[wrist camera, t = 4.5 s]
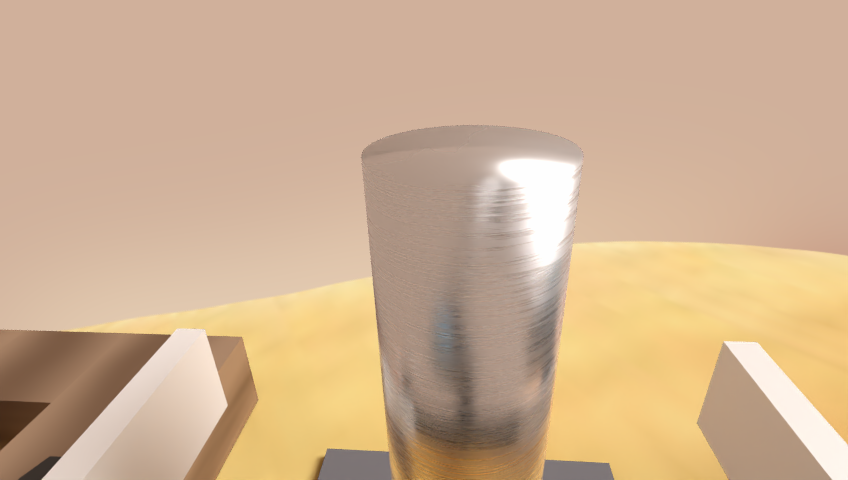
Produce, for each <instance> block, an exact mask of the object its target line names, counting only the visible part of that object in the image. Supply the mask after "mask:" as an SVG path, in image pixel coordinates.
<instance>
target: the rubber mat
mask: <svg viewBox="0 0 848 480" xmlns="http://www.w3.org/2000/svg"><path fill="white" fill-rule="evenodd" d="M318 480H392V479H391V468H390V457H389V452H382V451H363V450H344V449H327V452H326V455H325V458H324V461H323V464H322V467H321V471H320V474H319V477H318ZM543 480H614V478H613V475H612V472H611V468H610V465H609V463H595V462H576V461H557V460H545V464H544V472H543Z"/></svg>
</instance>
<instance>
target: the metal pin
mask: <svg viewBox="0 0 848 480" xmlns="http://www.w3.org/2000/svg"><path fill="white" fill-rule="evenodd" d="M583 157H584V156H583V151H582V150H581V148H580V147H579V146H578V145H576V144H575V143H573V142H572V141H569V140H567V139H565V138H562V137H559V136H557V135H553V134H550V133H545V132H541V131H536V130H530V129H523V128H516V127H505V126H487V125H462V126H443V127H434V128H424V129H418V130H412V131H407V132H402V133H398V134H394V135H391V136H388V137H385V138H382V139H380V140H377V141H376V142H373V143H372V144H370V145H369V146H367V147H366V148H365V149H364V150H363V152H362V157H361V158H362V169H363V180H364V191H365V201H366V211H367V223H368V233H369V243H370V254H371V265H372V276H373V287H374V297H375V308H376V319H377V329H378V340H379V351H380V361H381V372H382V383H383V393H384V404H385V415H386V425H387V436H388V447H389V457H390V468H391V479H392V480H543V472H544V464H545V456H546V448H547V440H548V432H549V424H550V417H551V409H552V401H553V393H554V385H555V377H556V369H557V362H558V354H559V346H560V338H561V330H562V322H563V314H564V306H565V299H566V291H567V283H568V275H569V267H570V259H571V251H572V243H573V236H574V228H575V219H576V212H577V204H578V196H579V188H580V180H581V173H582V164H583Z"/></svg>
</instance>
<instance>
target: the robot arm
mask: <svg viewBox="0 0 848 480" xmlns="http://www.w3.org/2000/svg"><path fill="white" fill-rule="evenodd" d="M227 406H228V404H227V401H226V398H225V395H224V391H223V388H222V385H221V381H220V378H219V375H218V371H217V368H216V365H215V361H214V358H213V355H212V352H211V348H210V345H209V342H208V338H207V335H206V332H205V329H177V330H176V331H175V332H174V333H173V334H172V335H171V336H170V337H169V338H168V340H167V341H166V342H165V343H164V344H163V345H162V346H161V347H160V348H159V350H158V351H157V352H156V353H155V354H154V355H153V356H152V357H151V358H150V360H149V361H148V362H147V363H146V364H145V365H144V366H143V367H142V368H141V370H140V371H139V372H138V373H137V374H136V375H135V376H134V377H133V378H132V380H131V381H130V382H129V383H128V384H127V385H126V386H125V387H124V388H123V390H122V391H121V392H120V393H119V394H118V395H117V396H116V397H115V398H114V400H113V401H112V402H111V403H110V404H109V405H108V406H107V407H106V409H105V410H104V411H103V412H102V413H101V414H100V415H99V416H98V417H97V419H96V420H95V421H94V422H93V423H92V424H91V425H90V426H89V427H88V429H87V430H86V431H85V432H84V433H83V434H82V435H81V436H80V437H79V439H78V440H77V441H76V442H75V443H74V444H73V445H72V446H71V447H70V449H69V450H68V451H67V452H66V453H65V454H64V455H63V456H62V457H57V456H49V457H48V458H47V459H45V460H44V461H42V462H41V463H40V464H38V465H37V466H36V467H34V468H33V469H31V470H30V471H29V472H27V473H26V474H24V475H23V476H22V477H20V478H19V479H18V480H184V478H185V476H186V475H187V473H188V471H189V470H190V468H191V466H192V465H193V463H194V461H195V459H196V458H197V456H198V454H199V453H200V451H201V449H202V448H203V446H204V444H205V443H206V441H207V439H208V438H209V436H210V434H211V433H212V431H213V429H214V428H215V426H216V424H217V423H218V421H219V419H220V418H221V416H222V414H223V413H224V411H225V409H226V408H227ZM697 424H698V426H699V428H700V429H701V431H702V433H703V435H704V436H705V438H706V440H707V442H708V443H709V445H710V447H711V449H712V451H713V452H714V454H715V456H716V458H717V459H718V461H719V463H720V465H721V467H722V468H723V470H724V472H725V474H726V475H727V477H728V479H729V480H848V445H847V444H846V442H845V441H844V440H843V439H842V438H841V437H840V436H839V434H838V433H837V432H836V431H835V430H834V429H833V428H832V427H831V425H830V424H829V423H828V422H827V421H826V420H825V419H824V417H823V416H822V415H821V414H820V413H819V412H818V411H817V410H816V408H815V407H814V406H813V405H812V404H811V403H810V402H809V401H808V399H807V398H806V397H805V396H804V395H803V394H802V393H801V391H800V390H799V389H798V388H797V387H796V386H795V385H794V384H793V382H792V381H791V380H790V379H789V378H788V377H787V376H786V374H785V373H784V372H783V371H782V370H781V369H780V368H779V367H778V365H777V364H776V363H775V362H774V361H773V360H772V359H771V357H770V356H769V355H768V354H767V353H766V352H765V351H764V350H763V348H762V347H761V346H760V345H759V344H758V343H757V342H728V341H723V345H722V348H721V351H720V354H719V357H718V360H717V363H716V366H715V369H714V372H713V375H712V378H711V381H710V385H709V388H708V391H707V394H706V397H705V400H704V403H703V406H702V409H701V412H700V415H699V418H698V421H697Z"/></svg>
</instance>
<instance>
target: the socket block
mask: <svg viewBox="0 0 848 480" xmlns="http://www.w3.org/2000/svg"><path fill="white" fill-rule="evenodd" d="M170 336H171V335H161V334H127V333H94V332H61V331H27V330H0V480H18V479H19V478H20V477H22V476H23V475H24V474H26V473H27V472H29V471H30V470H31V469H33V468H34V467H36V466H37V465H38V464H40V463H41V462H42V461H44V460H45V459H47V458H48V457H49V456H57V457H62V456H63V455H64V454H65V453H66V452H67V451H68V450H69V449H70V447H71V446H72V445H73V444H74V443H75V442H76V441H77V440H78V439H79V437H80V436H81V435H82V434H83V433H84V432H85V431H86V430H87V429H88V427H89V426H90V425H91V424H92V423H93V422H94V421H95V420H96V419H97V417H98V416H99V415H100V414H101V413H102V412H103V411H104V410H105V409H106V407H107V406H108V405H109V404H110V403H111V402H112V401H113V400H114V398H115V397H116V396H117V395H118V394H119V393H120V392H121V391H122V390H123V388H124V387H125V386H126V385H127V384H128V383H129V382H130V381H131V380H132V378H133V377H134V376H135V375H136V374H137V373H138V372H139V371H140V370H141V368H142V367H143V366H144V365H145V364H146V363H147V362H148V361H149V360H150V358H151V357H152V356H153V355H154V354H155V353H156V352H157V351H158V350H159V348H160V347H161V346H162V345H163V344H164V343H165V342H166V341H167V340H168V338H169V337H170ZM207 338H208V342H209V345H210V348H211V352H212V355H213V358H214V361H215V365H216V368H217V371H218V375H219V378H220V381H221V385H222V388H223V391H224V395H225V398H226V401H227V404H228V406H227V408H226V409H225V411H224V413H223V414H222V416H221V418H220V419H219V421H218V423H217V424H216V426H215V428H214V429H213V431H212V433H211V434H210V436H209V438H208V439H207V441H206V443H205V444H204V446H203V448H202V449H201V451H200V453H199V454H198V456H197V458H196V459H195V461H194V463H193V465H192V466H191V468H190V470H189V471H188V473H187V475H186V476H185V478H184V480H215V479H216V478H217V476H218V474H219V472H220V470H221V468H222V466H223V464H224V463H225V461H226V459H227V457H228V455H229V453H230V451H231V450H232V448H233V446H234V444H235V442H236V440H237V438H238V437H239V435H240V433H241V431H242V429H243V427H244V425H245V423H246V422H247V420H248V418H249V416H250V414H251V412H252V410H253V409H254V407H255V405H256V403H257V401H258V397H257V393H256V389H255V385H254V381H253V377H252V373H251V370H250V366H249V362H248V358H247V354H246V350H245V346H244V342H243V339H242V337H227V336H207Z"/></svg>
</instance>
